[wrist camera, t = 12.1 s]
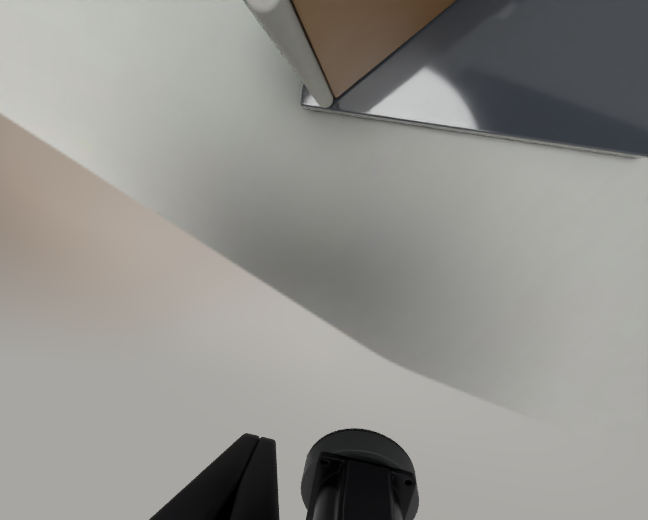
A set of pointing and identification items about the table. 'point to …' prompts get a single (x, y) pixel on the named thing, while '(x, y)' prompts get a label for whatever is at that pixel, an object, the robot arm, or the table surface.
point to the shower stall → (518, 75)
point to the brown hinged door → (340, 36)
